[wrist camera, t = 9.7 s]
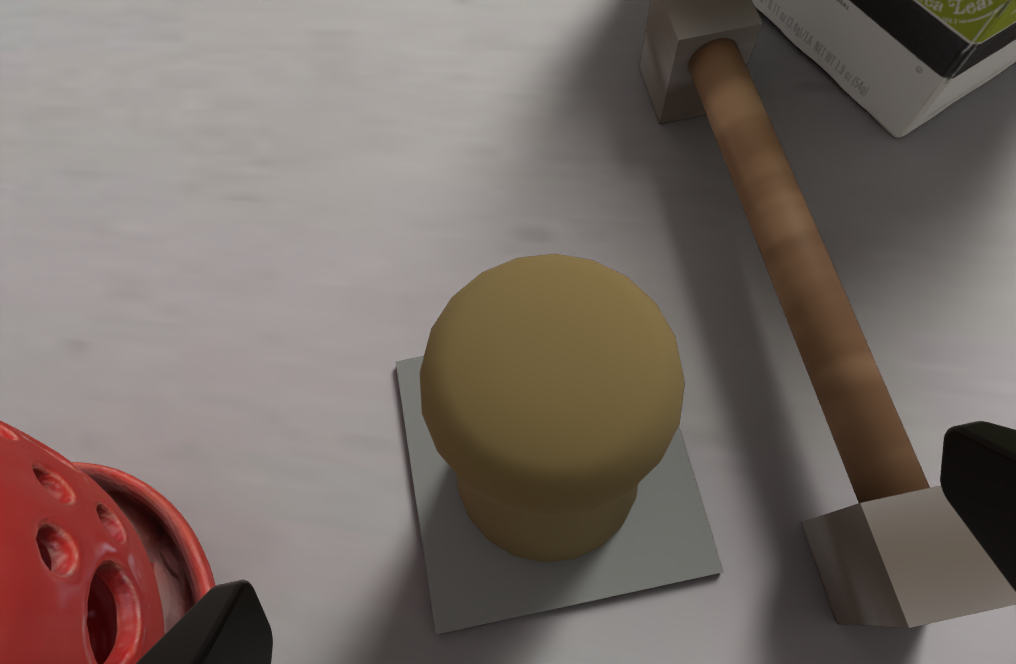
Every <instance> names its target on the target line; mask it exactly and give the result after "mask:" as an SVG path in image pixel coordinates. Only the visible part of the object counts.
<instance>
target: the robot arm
mask: <svg viewBox="0 0 1016 664" xmlns="http://www.w3.org/2000/svg"><path fill="white" fill-rule="evenodd" d="M940 482H941V488H942V491H943V493H944V495H945V497H946V499H947V500H948V502H949V503H950V505H951V506H952V507H953V509H954V510H955V511H956V513H957V514H958V515H959V517H960V518H961V520H962V521H963V522H964V524H965V525H966V526H967V528H968V529H969V530H970V532H971V533H972V534H973V536H974V537H975V538H976V540H977V541H978V542H979V544H980V545H981V547H982V548H983V549H984V551H985V552H986V553H987V555H988V556H989V557H990V559H991V560H992V561H993V563H994V564H995V565H996V567H997V568H998V569H999V571H1000V572H1001V574H1002V575H1003V576H1004V578H1005V579H1006V580H1007V582H1008V583H1009V584H1010V586H1011V587H1012V588H1013V589H1014V591H1015V592H1016V430H1015V429H1011V428H1007V427H1003V426H1000V425H996V424H992V423H989V422H984V421H977V422H972V423H967V424H962V425H958V426H953V427H951V428H950V429H948V430H947V432H946V433H945V435H944V442H943V453H942V464H941V475H940ZM272 648H273V638H272V631H271V627H270V625H269V622H268V620H267V618H266V615H265V613H264V611H263V608H262V606H261V604H260V602H259V599H258V597H257V595H256V592H255V590H254V588H253V586H252V585H251V584H250V583H249V582H248V581H246V580H239V581H234V582H229V583H225V584H220V585H217V586H214V587H213V588H211V589H210V590H209V591H208V592H207V593H206V594H205V595H204V596H203V597H202V598H201V599H200V600H199V601H198V602H197V603H196V604H195V605H194V606H193V607H192V608H191V609H190V610H189V611H188V612H187V613H186V614H185V615H184V616H183V617H182V618H181V619H180V620H179V621H178V622H177V623H176V624H175V625H174V626H173V627H172V628H171V629H170V630H169V631H168V632H167V633H166V634H165V635H164V636H163V637H162V638H161V639H160V640H159V641H158V642H157V643H156V644H155V645H154V646H153V647H152V648H151V649H150V650H148V651H147V652H146V653H145V654H144V655H143V656H142V657H141V658H140V659H139V660H138V661H137V662H136V663H135V664H271V658H272Z"/></svg>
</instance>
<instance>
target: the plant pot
mask: <svg viewBox="0 0 1016 664" xmlns="http://www.w3.org/2000/svg"><path fill="white" fill-rule="evenodd" d="M214 586H215V582H214V578H213V574H212V571H211V568H210V565H209V563H208V560H207V558H206V555H205V553H204V551H203V549H202V547H201V545H200V543H199V540H198V539H197V537H196V535H195V533H194V532H193V530H192V528H191V527H190V525H189V524H188V522H187V521H186V520H185V518H184V517H183V516H182V514H181V513H180V512H179V511H178V510H177V509H176V508H175V507H174V506H173V505H172V503H171V502H170V501H168V500H167V499H166V498H165V497H164V496H163V495H161V494H160V493H159V492H158V491H156V490H155V489H154V488H152V487H151V486H150V485H148V484H146V483H144V482H143V481H141V480H139V479H137V478H135V477H134V476H132V475H129V474H127V473H125V472H123V471H120V470H117V469H114V468H110V467H107V466H102V465H97V464H90V463H79V462H70V461H69V460H68V459H66V458H65V457H63V456H62V455H61V454H59V453H58V452H56V451H54V450H53V449H51V448H49V447H48V446H46V445H44V444H43V443H41V442H39V441H38V440H36V439H34V438H33V437H31V436H29V435H27V434H26V433H24V432H22V431H20V430H18V429H16V428H14V427H12V426H10V425H8V424H6V423H4V422H2V421H0V664H135V663H136V662H137V661H138V660H139V659H140V658H141V657H142V656H143V655H144V654H145V653H146V652H147V651H148V650H150V649H151V648H152V647H153V646H154V645H155V644H156V643H157V642H158V641H159V640H160V639H161V638H162V637H163V636H164V635H165V634H166V633H167V632H168V631H169V630H170V629H171V628H172V627H173V626H174V625H175V624H176V623H177V622H178V621H179V620H180V619H181V618H182V617H183V616H184V615H185V614H186V613H187V612H188V611H189V610H190V609H191V608H192V607H193V606H194V605H195V604H196V603H197V602H198V601H199V600H200V599H201V598H202V597H203V596H204V595H205V594H206V593H207V592H208V591H209V590H210V589H211V588H213V587H214Z"/></svg>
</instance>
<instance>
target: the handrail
mask: <svg viewBox="0 0 1016 664" xmlns="http://www.w3.org/2000/svg"><path fill="white" fill-rule="evenodd" d="M762 24H763V23H762V21H761V19H760V17H759V14H758V12H757V10H756V8H755V6H754V4H753V1H752V0H651V2H650V8H649V14H648V20H647V26H646V31H645V37H644V43H643V49H642V55H641V61H640V67H639V68H640V71H641V74H642V77H643V79H644V82H645V85H646V88H647V91H648V93H649V96H650V99H651V102H652V105H653V107H654V110H655V113H656V116H657V119H658V122H659V124H661V123H666V122H671V121H676V120H681V119H686V118H691V117H696V116H701V115H706V114H707V117H708V119H709V122H710V125H711V127H712V130H713V132H714V135H715V137H716V140H717V142H718V145H719V148H720V150H721V153H722V155H723V158H724V160H725V163H726V165H727V168H728V171H729V173H730V176H731V178H732V181H733V183H734V186H735V188H736V191H737V193H738V196H739V199H740V201H741V204H742V206H743V209H744V211H745V214H746V216H747V219H748V222H749V224H750V227H751V229H752V232H753V234H754V237H755V239H756V242H757V245H758V247H759V250H760V252H761V255H762V257H763V260H764V262H765V265H766V267H767V270H768V273H769V275H770V278H771V280H772V283H773V285H774V288H775V290H776V293H777V296H778V298H779V301H780V303H781V306H782V308H783V311H784V313H785V316H786V319H787V321H788V324H789V326H790V329H791V331H792V334H793V336H794V339H795V341H796V344H797V347H798V349H799V352H800V354H801V357H802V359H803V362H804V364H805V367H806V370H807V372H808V375H809V377H810V380H811V382H812V385H813V387H814V390H815V392H816V395H817V398H818V400H819V403H820V405H821V408H822V410H823V413H824V415H825V418H826V421H827V423H828V426H829V428H830V431H831V433H832V436H833V438H834V441H835V444H836V446H837V449H838V451H839V454H840V456H841V459H842V461H843V464H844V466H845V469H846V472H847V474H848V477H849V479H850V482H851V484H852V487H853V489H854V492H855V495H856V497H857V500H858V502H859V504H856V505H853V506H850V507H847V508H844V509H841V510H837V511H834V512H831V513H828V514H825V515H822V516H819V517H816V518H813V519H810V520H807V521H804V522H801V523H802V526H803V529H804V532H805V534H806V537H807V540H808V543H809V546H810V548H811V551H812V554H813V557H814V560H815V562H816V565H817V568H818V571H819V574H820V576H821V579H822V582H823V585H824V588H825V591H826V593H827V596H828V599H829V602H830V605H831V607H832V610H833V613H834V616H835V619H836V621H837V623H838V624H854V625H870V626H886V627H902V628H911V627H916V626H920V625H925V624H930V623H934V622H939V621H943V620H948V619H952V618H957V617H961V616H966V615H970V614H975V613H979V612H984V611H988V610H993V609H997V608H1002V607H1006V606H1011V605H1016V592H1015V591H1014V589H1013V588H1012V587H1011V586H1010V584H1009V583H1008V582H1007V580H1006V579H1005V578H1004V576H1003V575H1002V574H1001V572H1000V571H999V569H998V568H997V567H996V565H995V564H994V563H993V561H992V560H991V559H990V557H989V556H988V555H987V553H986V552H985V551H984V549H983V548H982V547H981V545H980V544H979V542H978V541H977V540H976V538H975V537H974V536H973V534H972V533H971V532H970V530H969V529H968V528H967V526H966V525H965V524H964V522H963V521H962V520H961V518H960V517H959V515H958V514H957V513H956V511H955V510H954V509H953V507H952V506H951V505H950V503H949V502H948V500H947V499H946V497H945V495H944V493H943V491H942V488H941V486H937V487H932V488H930V486H929V484H928V482H927V480H926V477H925V475H924V473H923V470H922V468H921V466H920V463H919V461H918V459H917V457H916V454H915V452H914V450H913V447H912V445H911V443H910V441H909V438H908V436H907V434H906V431H905V429H904V427H903V424H902V422H901V420H900V418H899V415H898V413H897V411H896V408H895V406H894V404H893V401H892V399H891V397H890V395H889V392H888V390H887V388H886V385H885V383H884V381H883V378H882V376H881V374H880V372H879V369H878V367H877V365H876V362H875V360H874V358H873V356H872V353H871V351H870V349H869V346H868V344H867V342H866V339H865V337H864V335H863V333H862V330H861V328H860V326H859V323H858V321H857V319H856V316H855V314H854V312H853V310H852V307H851V305H850V303H849V300H848V298H847V296H846V293H845V291H844V289H843V287H842V284H841V282H840V280H839V277H838V275H837V273H836V271H835V268H834V266H833V264H832V261H831V259H830V257H829V254H828V252H827V250H826V248H825V245H824V243H823V241H822V238H821V236H820V234H819V231H818V229H817V227H816V225H815V222H814V220H813V218H812V215H811V213H810V211H809V208H808V206H807V204H806V202H805V199H804V197H803V195H802V192H801V190H800V188H799V185H798V183H797V181H796V179H795V176H794V174H793V172H792V169H791V167H790V165H789V163H788V160H787V158H786V156H785V153H784V151H783V149H782V146H781V144H780V142H779V140H778V137H777V135H776V133H775V130H774V128H773V126H772V123H771V121H770V119H769V117H768V114H767V112H766V110H765V107H764V105H763V103H762V100H761V98H760V96H759V94H758V91H757V89H756V87H755V84H754V82H753V80H752V78H751V75H750V73H749V71H748V68H747V65H748V62H749V59H750V57H751V54H752V51H753V48H754V46H755V43H756V40H757V38H758V35H759V32H760V29H761V27H762Z"/></svg>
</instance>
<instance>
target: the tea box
mask: <svg viewBox="0 0 1016 664" xmlns="http://www.w3.org/2000/svg"><path fill="white" fill-rule="evenodd" d="M752 1H753V4H754V6H755V7H756V8H757V9H758V10H759V11H761V12H762V13H763V14H764V15H765V16H766V17H767V18H769V19H770V20H771V21H772V22H773V23H774V24H775V25H776V26H777V27H779V28H780V29H781V31H782V32H783V33H784V34H785V36H786V37H787V38H788V39H789V40H791V41H792V42H793V43H794V44H795V45H796V46H797V47H798V48H799V49H801V50H802V51H803V52H804V53H805V54H806V55H808V56H809V57H810V58H812V59H813V60H814V61H815V62H816V63H817V64H818V65H819V66H821V67H822V68H823V69H824V70H825V71H826V72H827V73H828V74H829V75H830V76H831V77H832V78H833V79H834V80H835V81H836V82H837V83H838V84H839V85H840V87H841V88H842V89H844V90H845V91H846V92H847V93H848V94H849V95H850V96H851V97H852V98H853V99H854V100H855V101H856V102H857V103H859V104H860V105H861V106H862V107H863V108H865V109H866V110H867V111H868V112H869V113H870V114H871V115H872V116H873V117H874V118H875V119H876V120H877V121H878V122H879V123H880V124H881V125H882V126H883V127H884V128H885V129H886V130H887V131H888V132H889V133H890V134H892V136H894V137H895V138H898V137H902V136H905V135H906V134H908V133H909V132H911V131H912V130H914V129H915V128H917V127H919V126H920V125H922V124H923V123H925V122H926V121H928V120H929V119H931V118H933V117H934V116H935V115H937V114H938V113H940V112H941V111H942V110H944V109H945V108H947V107H948V106H949V105H951V104H952V103H954V102H955V101H957V100H959V99H960V98H962V97H963V96H965V95H966V94H968V93H969V92H971V91H973V90H975V89H976V88H978V87H979V86H981V85H983V84H984V83H986V82H987V81H989V80H990V79H992V78H993V77H995V76H996V75H998V74H999V73H1001V72H1002V71H1003V70H1005V69H1006V68H1007V67H1009V66H1011V65H1012V64H1014V63H1015V62H1016V0H752Z"/></svg>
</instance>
